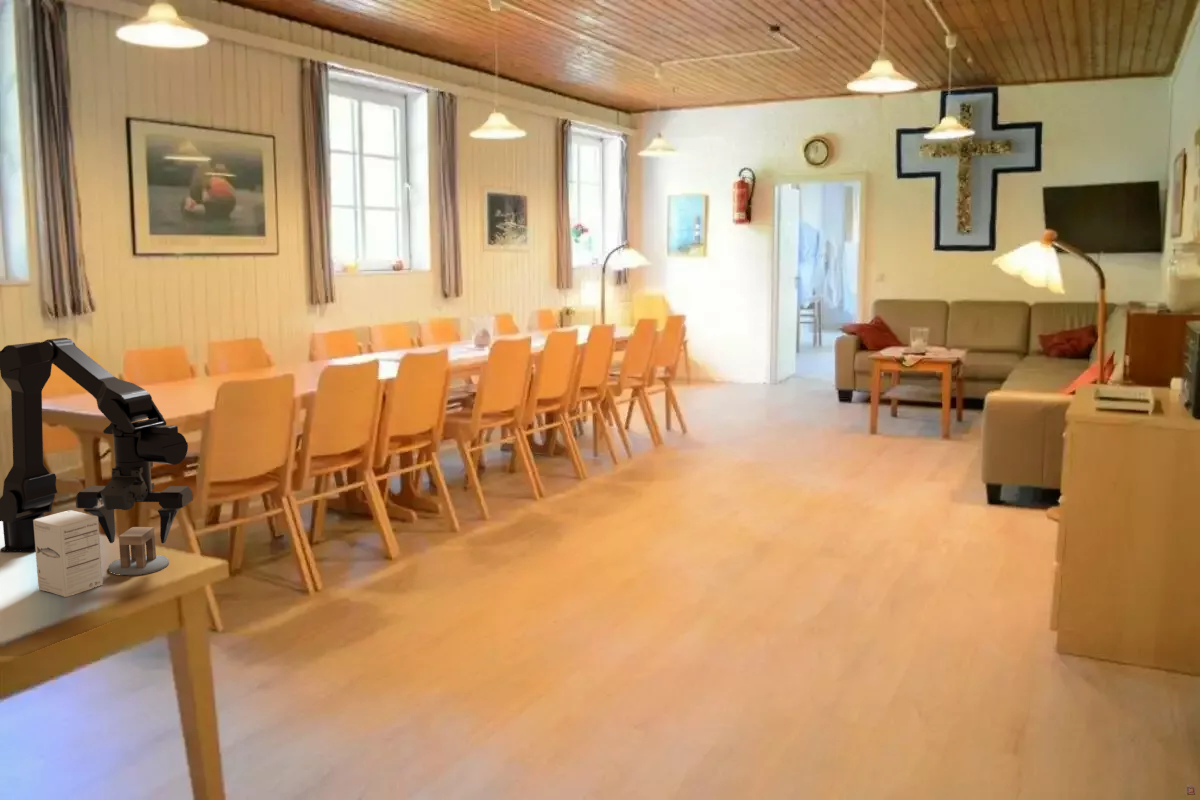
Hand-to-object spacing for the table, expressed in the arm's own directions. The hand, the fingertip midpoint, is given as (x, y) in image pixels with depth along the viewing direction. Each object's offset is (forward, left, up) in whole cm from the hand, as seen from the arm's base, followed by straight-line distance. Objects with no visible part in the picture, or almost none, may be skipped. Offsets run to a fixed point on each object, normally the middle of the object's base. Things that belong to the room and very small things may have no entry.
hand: (137, 542), depth 183 cm
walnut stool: (0, 0, -4) cm, 4 cm away
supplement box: (-7, -11, -5) cm, 14 cm away
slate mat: (0, 0, -4) cm, 5 cm away
